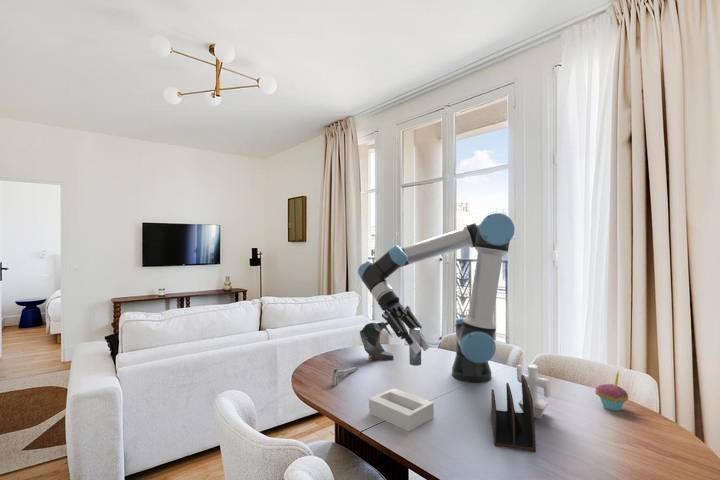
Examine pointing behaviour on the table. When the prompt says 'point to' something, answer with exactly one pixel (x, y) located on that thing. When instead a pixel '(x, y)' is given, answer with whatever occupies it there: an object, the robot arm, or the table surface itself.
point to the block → (401, 409)
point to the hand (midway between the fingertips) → (423, 350)
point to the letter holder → (514, 422)
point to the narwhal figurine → (374, 341)
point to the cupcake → (612, 395)
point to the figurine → (535, 389)
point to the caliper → (341, 374)
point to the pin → (414, 358)
